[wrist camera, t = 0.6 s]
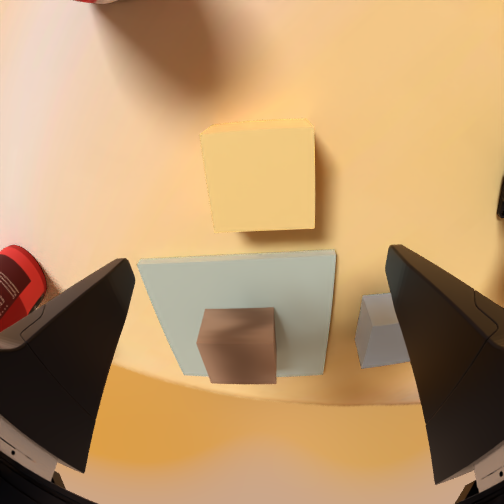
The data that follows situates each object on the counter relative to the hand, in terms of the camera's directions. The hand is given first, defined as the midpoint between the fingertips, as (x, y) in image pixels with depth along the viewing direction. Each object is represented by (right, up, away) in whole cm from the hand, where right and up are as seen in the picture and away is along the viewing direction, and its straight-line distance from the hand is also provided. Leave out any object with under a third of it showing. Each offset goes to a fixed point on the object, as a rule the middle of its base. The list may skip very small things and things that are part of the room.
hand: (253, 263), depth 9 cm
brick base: (-1, -7, +17) cm, 19 cm away
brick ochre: (+1, +6, +10) cm, 12 cm away
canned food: (-26, -2, +17) cm, 31 cm away
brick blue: (+13, -6, +17) cm, 22 cm away
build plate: (-1, -7, +18) cm, 19 cm away
